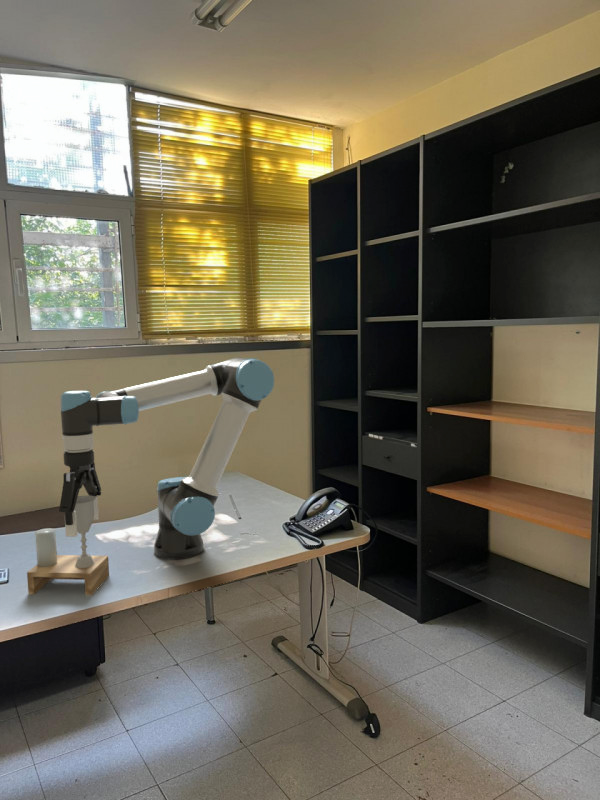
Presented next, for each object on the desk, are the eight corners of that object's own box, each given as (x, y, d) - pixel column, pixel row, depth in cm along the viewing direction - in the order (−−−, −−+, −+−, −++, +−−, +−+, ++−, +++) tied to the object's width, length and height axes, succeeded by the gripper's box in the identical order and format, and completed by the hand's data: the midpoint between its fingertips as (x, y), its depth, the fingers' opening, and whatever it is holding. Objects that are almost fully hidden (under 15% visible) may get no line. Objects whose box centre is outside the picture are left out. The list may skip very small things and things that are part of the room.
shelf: (109, 576, 166) (108, 555, 165) (91, 595, 154) (90, 573, 153) (50, 575, 167) (49, 554, 166) (28, 594, 155) (26, 572, 154)
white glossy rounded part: (60, 559, 162) (58, 528, 161) (51, 567, 157) (49, 534, 156) (43, 559, 163) (41, 528, 162) (33, 566, 158) (31, 534, 157)
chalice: (85, 571, 155) (82, 504, 152) (64, 567, 157) (61, 501, 155) (104, 561, 161) (101, 497, 159) (84, 557, 164) (81, 494, 162)
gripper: (84, 440, 168) (88, 512, 171) (41, 459, 144) (46, 543, 146) (110, 440, 168) (114, 513, 170) (71, 460, 143) (76, 544, 146)
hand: (83, 527), depth 158 cm, fingers open, 13 cm apart
